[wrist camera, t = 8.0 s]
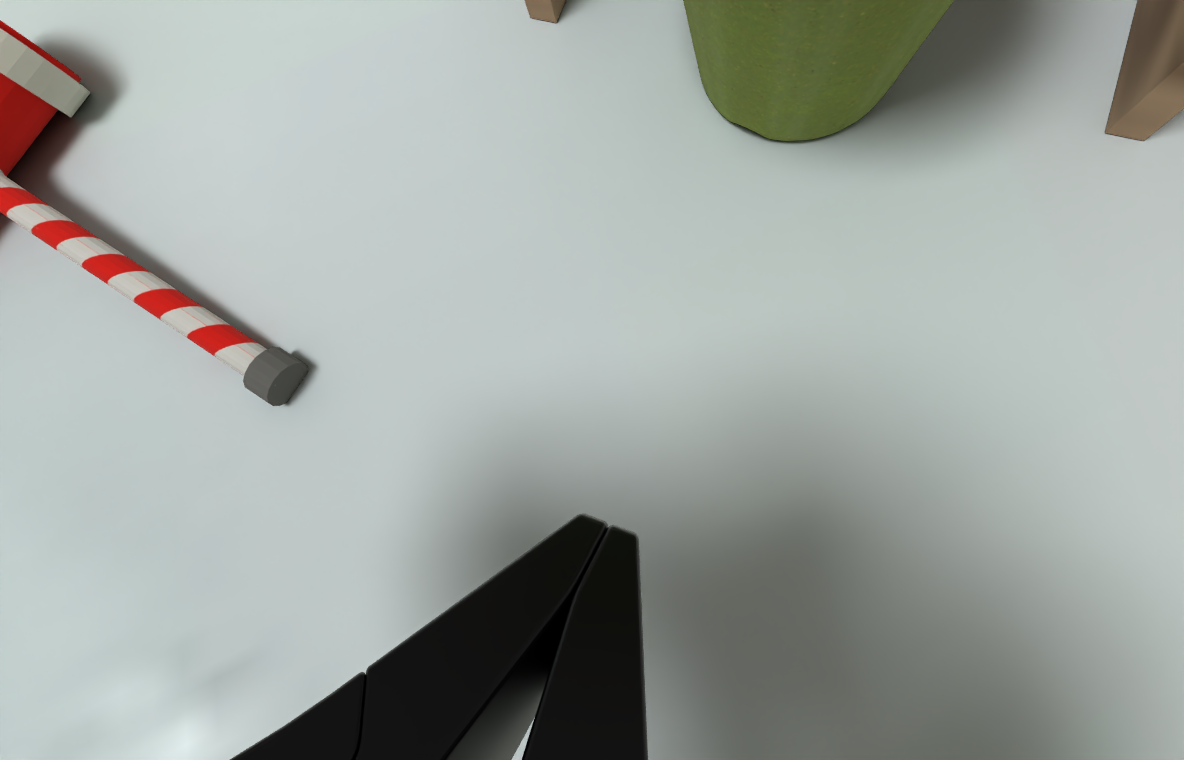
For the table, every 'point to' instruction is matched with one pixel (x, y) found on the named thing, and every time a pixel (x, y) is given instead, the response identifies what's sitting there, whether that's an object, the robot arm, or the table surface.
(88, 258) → the toy hammer
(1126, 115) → the wooden frame
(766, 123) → the plant pot
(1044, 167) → the table surface
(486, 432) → the table surface
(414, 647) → the robot arm
